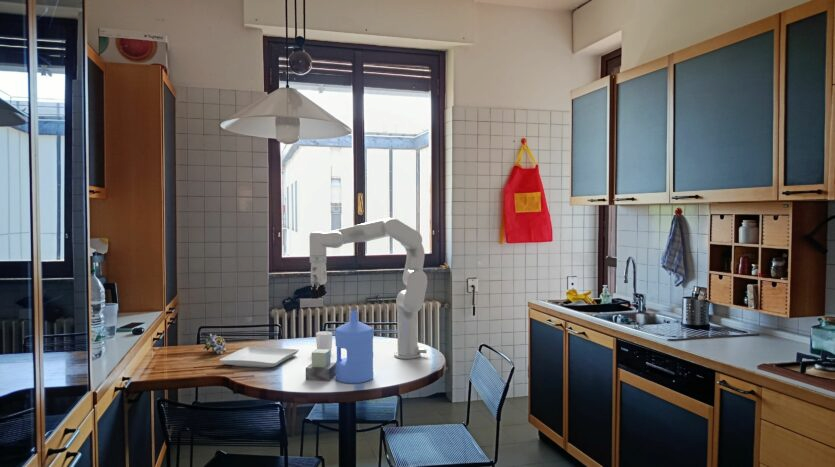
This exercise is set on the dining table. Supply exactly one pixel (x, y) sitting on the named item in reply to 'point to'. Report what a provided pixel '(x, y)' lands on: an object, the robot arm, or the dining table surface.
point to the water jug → (354, 351)
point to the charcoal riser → (321, 372)
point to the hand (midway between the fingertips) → (318, 296)
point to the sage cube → (320, 358)
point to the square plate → (259, 356)
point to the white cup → (324, 340)
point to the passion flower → (215, 344)
